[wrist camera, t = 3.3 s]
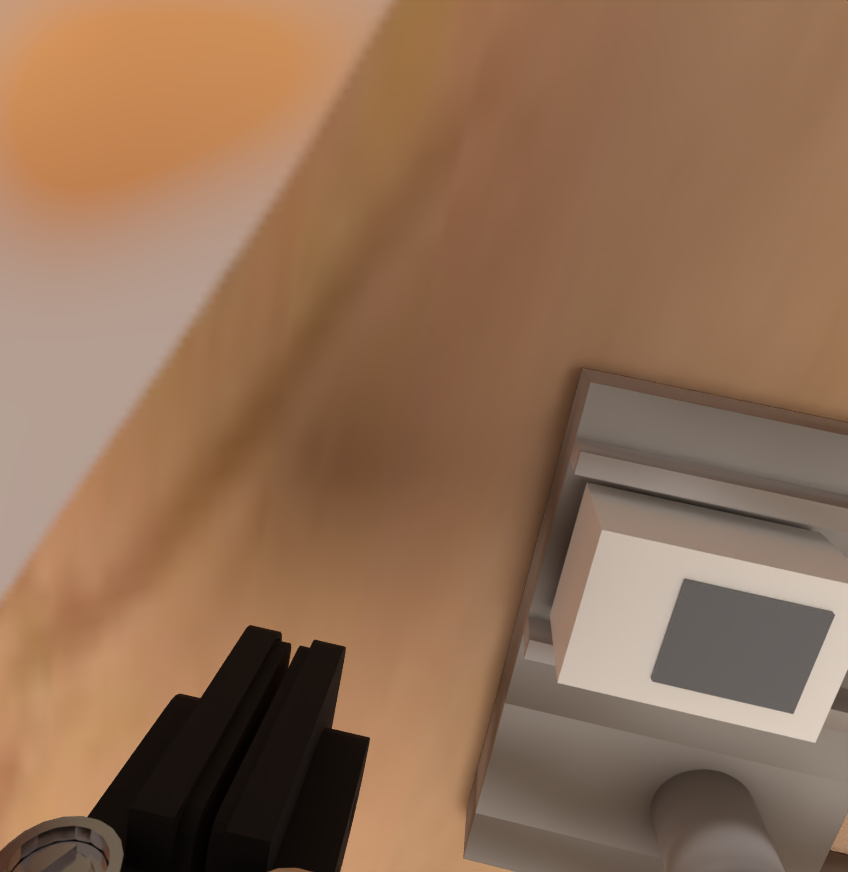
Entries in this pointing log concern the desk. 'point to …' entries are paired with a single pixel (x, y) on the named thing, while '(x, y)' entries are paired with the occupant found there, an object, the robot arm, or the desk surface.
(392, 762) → the desk surface
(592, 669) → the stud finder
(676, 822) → the tan cylinder
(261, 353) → the desk surface
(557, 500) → the grey ridged panel
